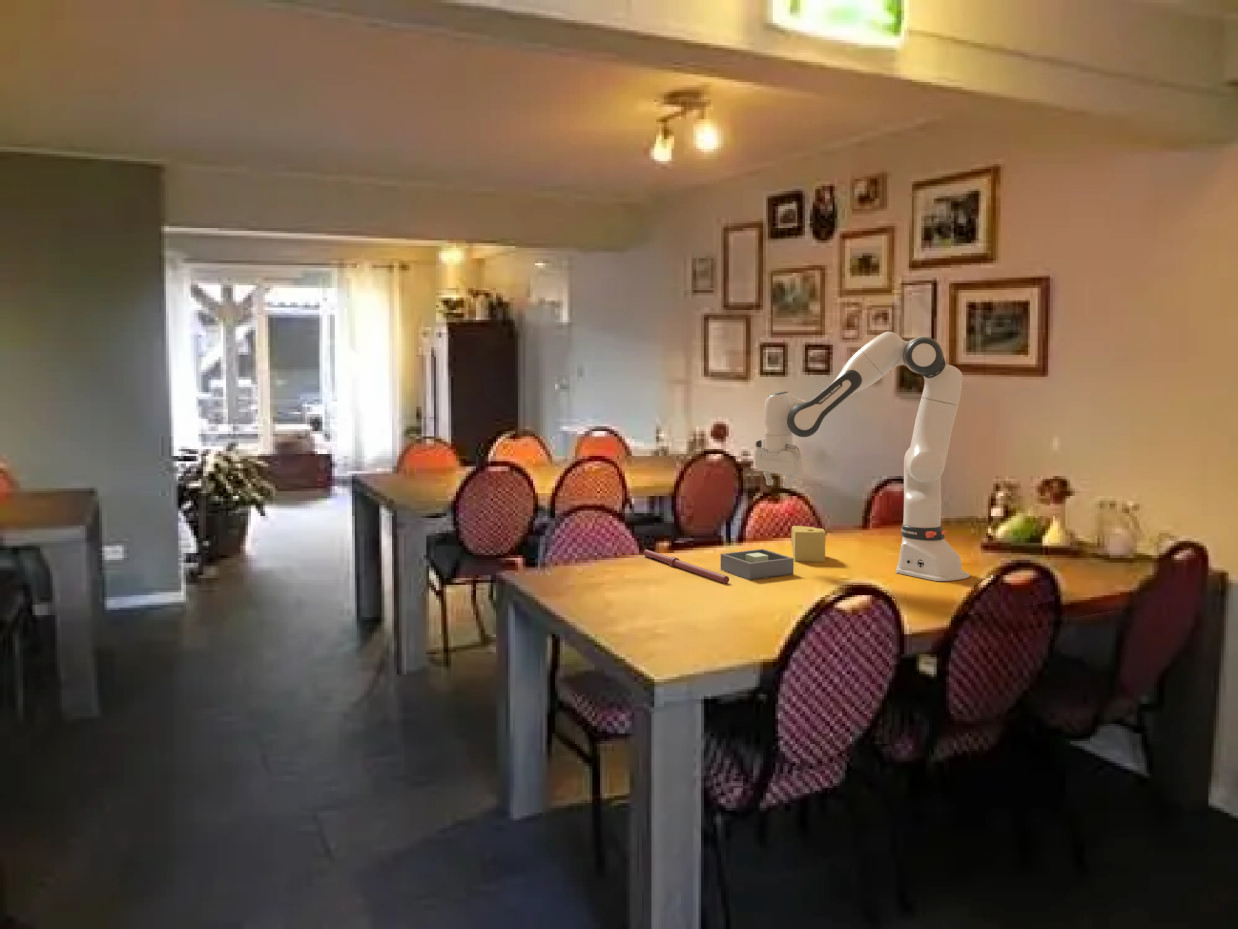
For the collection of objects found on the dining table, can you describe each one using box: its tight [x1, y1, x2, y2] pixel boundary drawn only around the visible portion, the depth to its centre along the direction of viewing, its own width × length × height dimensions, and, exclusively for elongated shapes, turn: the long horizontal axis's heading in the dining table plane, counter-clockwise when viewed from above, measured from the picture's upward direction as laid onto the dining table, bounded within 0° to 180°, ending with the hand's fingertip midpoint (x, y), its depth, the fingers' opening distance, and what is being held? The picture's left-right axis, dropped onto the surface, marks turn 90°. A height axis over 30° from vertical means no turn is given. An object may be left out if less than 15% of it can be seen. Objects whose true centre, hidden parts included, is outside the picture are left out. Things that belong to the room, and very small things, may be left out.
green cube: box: [745, 553, 768, 563], centre depth 309 cm, size 5×5×5 cm
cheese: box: [790, 525, 826, 563], centre depth 328 cm, size 10×11×10 cm
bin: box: [720, 548, 795, 581], centre depth 309 cm, size 16×16×5 cm
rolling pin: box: [643, 549, 730, 585], centre depth 314 cm, size 45×3×3 cm, turn 30°
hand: (778, 486), depth 319 cm, fingers open, 8 cm apart
